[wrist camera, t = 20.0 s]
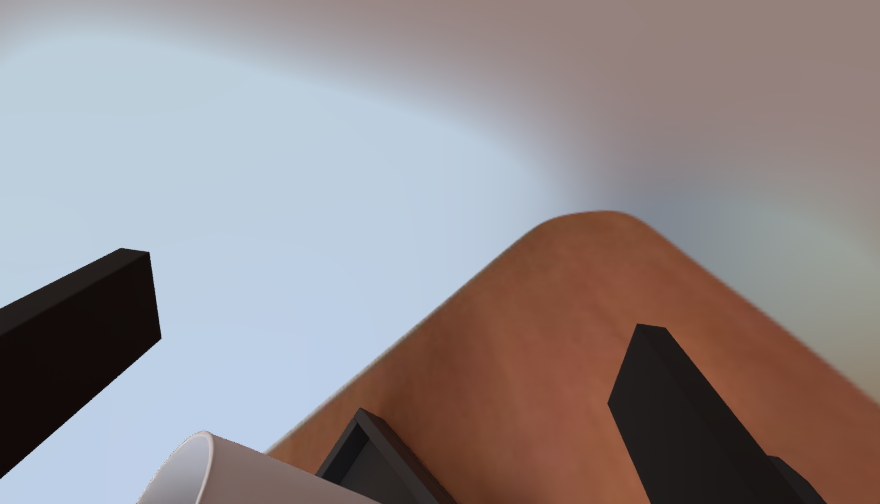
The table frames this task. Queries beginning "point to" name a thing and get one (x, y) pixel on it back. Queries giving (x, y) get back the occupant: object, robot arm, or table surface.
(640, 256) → the table surface
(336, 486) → the mug
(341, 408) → the table surface
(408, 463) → the tray
